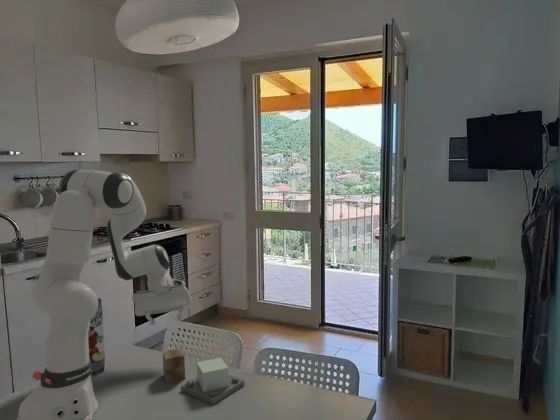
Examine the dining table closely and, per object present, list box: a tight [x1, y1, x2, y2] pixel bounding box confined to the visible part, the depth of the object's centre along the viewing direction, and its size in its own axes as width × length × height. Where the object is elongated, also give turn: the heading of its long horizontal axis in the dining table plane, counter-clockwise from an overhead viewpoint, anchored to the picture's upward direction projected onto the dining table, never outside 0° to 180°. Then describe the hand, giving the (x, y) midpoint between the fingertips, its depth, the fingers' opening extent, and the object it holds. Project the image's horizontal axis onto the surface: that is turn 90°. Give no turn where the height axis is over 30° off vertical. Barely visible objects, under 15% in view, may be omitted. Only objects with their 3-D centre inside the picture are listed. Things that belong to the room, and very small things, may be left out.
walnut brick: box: [162, 348, 186, 383], centre depth 146 cm, size 6×6×8 cm
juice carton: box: [88, 297, 106, 376], centre depth 149 cm, size 9×10×27 cm
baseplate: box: [180, 357, 245, 405], centre depth 139 cm, size 14×14×8 cm
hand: (166, 322), depth 157 cm, fingers open, 8 cm apart
